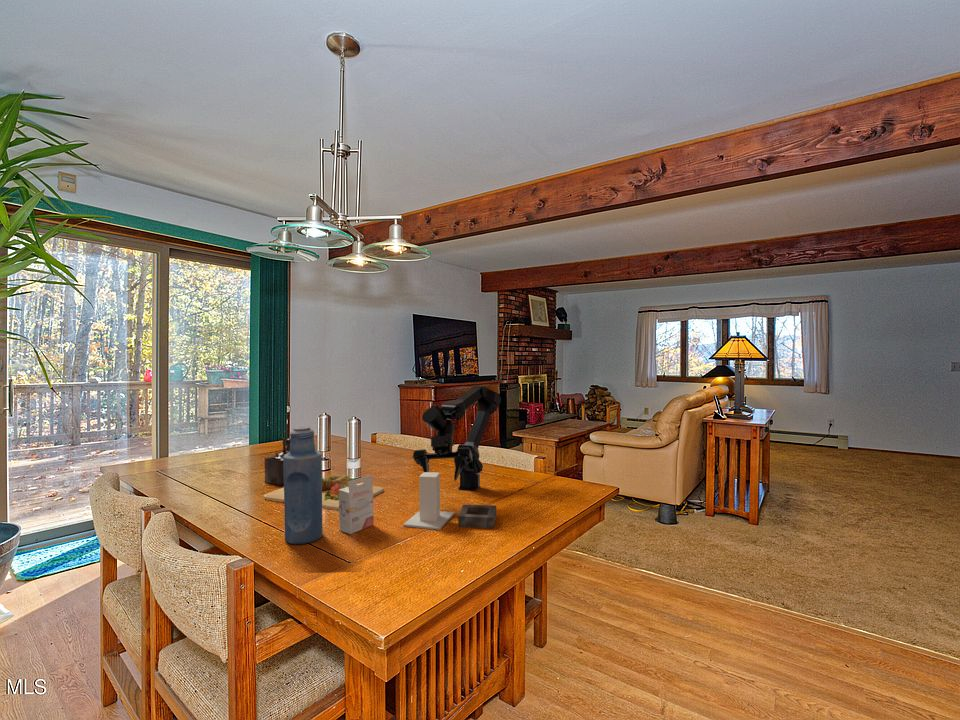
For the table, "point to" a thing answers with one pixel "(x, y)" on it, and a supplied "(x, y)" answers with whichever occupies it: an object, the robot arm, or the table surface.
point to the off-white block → (429, 496)
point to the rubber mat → (434, 525)
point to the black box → (276, 465)
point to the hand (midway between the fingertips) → (440, 480)
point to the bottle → (302, 488)
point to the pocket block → (477, 516)
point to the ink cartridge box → (356, 505)
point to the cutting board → (325, 491)
